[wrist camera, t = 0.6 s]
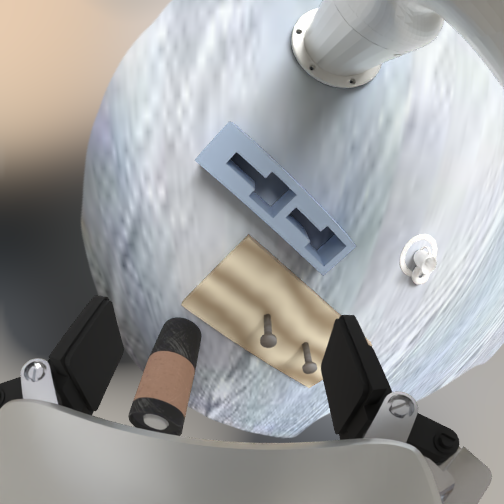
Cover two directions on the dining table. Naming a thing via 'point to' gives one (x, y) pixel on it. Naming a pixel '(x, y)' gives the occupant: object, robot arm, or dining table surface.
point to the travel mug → (167, 379)
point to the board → (266, 311)
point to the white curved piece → (420, 259)
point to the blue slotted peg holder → (278, 214)
